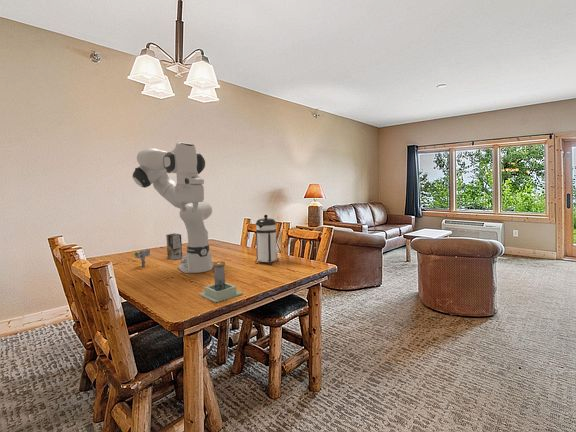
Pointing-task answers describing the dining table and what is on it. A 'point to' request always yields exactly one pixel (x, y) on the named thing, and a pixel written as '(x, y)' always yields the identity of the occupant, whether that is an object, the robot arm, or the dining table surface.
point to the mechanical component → (143, 255)
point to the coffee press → (266, 240)
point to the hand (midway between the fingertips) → (189, 212)
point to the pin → (219, 275)
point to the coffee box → (174, 246)
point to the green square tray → (220, 293)
